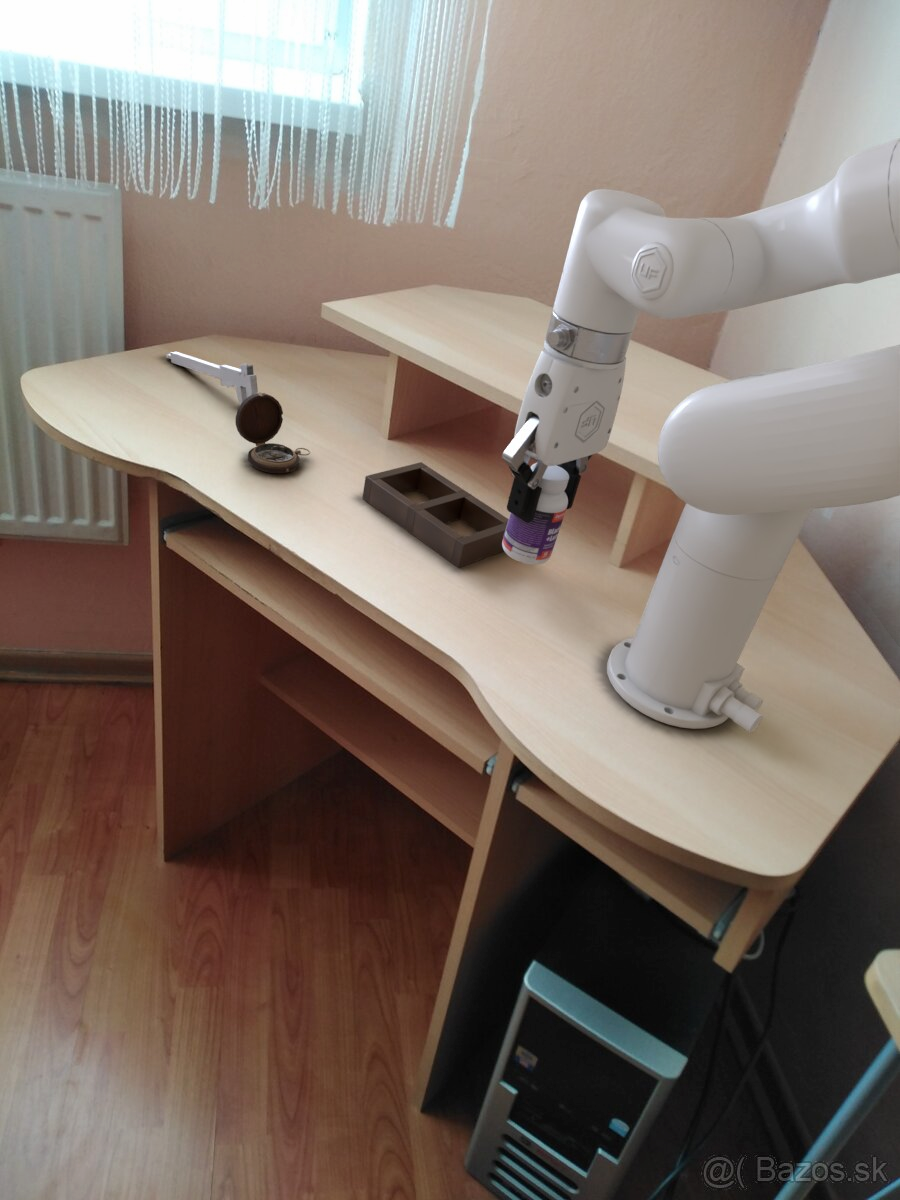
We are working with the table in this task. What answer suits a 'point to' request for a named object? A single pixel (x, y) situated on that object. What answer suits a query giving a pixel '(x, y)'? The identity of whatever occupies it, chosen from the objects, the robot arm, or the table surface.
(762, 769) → the table surface
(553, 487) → the pill bottle
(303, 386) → the table surface
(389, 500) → the tray
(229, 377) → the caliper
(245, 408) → the compass
